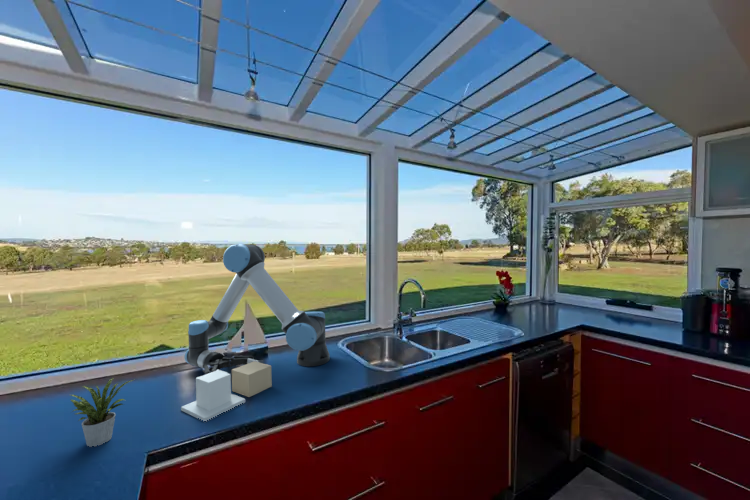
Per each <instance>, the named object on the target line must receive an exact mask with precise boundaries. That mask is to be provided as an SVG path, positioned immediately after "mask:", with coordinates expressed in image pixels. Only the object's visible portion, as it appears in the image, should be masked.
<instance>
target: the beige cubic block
mask: <svg viewBox="0 0 750 500" xmlns="http://www.w3.org/2000/svg"><path fill="white" fill-rule="evenodd" d="M272 377H273V376H272V365H270V364H267V363H264V362H260V361H259V362H256V361H254V362H251V363H248V364H244V365H241V366H240V365H239V366H238V367H235V368H232V369H231V392H233V393H237V394H239V395H242V396H244V397H248V398H250V397H251V398H252V396H255V395H257V394H259V393H261V392H263V391H265V390H268V389H269V388H272V387H273V385H272V384H273V381H272Z"/></svg>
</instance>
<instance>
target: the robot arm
mask: <svg viewBox="0 0 750 500" xmlns="http://www.w3.org/2000/svg"><path fill="white" fill-rule="evenodd" d="M265 259H266V257H265V252H264V250H263V249H262V248H261V247H260V246H259V245H256V244H248V243H247V244H244V243H236V244H231V245H230V246H229V247H227V248H226V250H225V251H224V253H223V257H222V263H223V266H224V268H225V269H227V271H229V272H232V273H235V275H234V277H233V278H232V280H231V283H230V284H229V286H228V287H227V290H226V291H225V293H224V295H223V296H222V298H221V300H220V302H219V304H218V305H217V307H216V308H215V310H214V312H213V314H212V315H211V318H210V319H209V320H207V319H199V320H198V319H197V320H194V321H191V322H190V323H189V324H188V331H187V333H188V335H187V336H188V349H187V350H186V351H185V353H184V361H185V363H187V364H189V366H190V365H191V366H193V367H197V368H200V369H202V372H203V373H204V375H206V374H208V373H211V372H214V371H217V370H219V371H222V372H225V373H228V374H229V372H228V371H224V370H221V369H225V368H231V367H233V366H240V365H241V366H243V365H246V364H248V363H251V362H254V361H256V362H260V360H257V359H254V356H253V355H235V354H233V355H231V357H226V356H225V355H224V354H223V353H221V352H219V351H213V350H210V349H209V345H210V344H209V343H210V341H209V339H212V338H214V337H216V336H218V335H221V334H223V333H224V332H225V331H227V330H228V327H229V320H230V319H231V317H232V315H233V313H234V312H235V310H236V308H237V306H239V303H240V302H241V299H242V298H243V296H244V294H245V293H246V292H247V289H248V287H249V286H251V287H252V289H253V291H255V292H256V294H257V295H258V296H259V297H260V299H261V300H262V301H263V302H264V303H265V305H266V306H267V307H268V308H269V309H270V311H271V312H272V314H273V315H274V316H276V317H275V318H277V319H278V320H279V322H280V323H281V330H282V332H283V334H285V341H286V343H287V345H288V346H289V348H291V349H293V350H295V351H298V353H297V356H296V363H297V365H299V366H302V367H317V366H321V365H324V364H327V363H328V362H329V361H330V359H331V358H330V352H329V349H328V347H327V342H326V313H325V312H323V311H304V310H299V309H298V308H297V307H296V306H295V304H294V303H293V301H291V299H290V298H289V297H288V296H287V294H286V293H285V292H284V291H283V290H282V288H281V287H280V285H279V284H277V282H276V281H275V280H274V279H273V277H272V276H271V275H270V274H269V273H268V271H267V270H266V269H265V265H266V264H265Z"/></svg>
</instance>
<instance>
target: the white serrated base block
mask: <svg viewBox="0 0 750 500" xmlns="http://www.w3.org/2000/svg"><path fill="white" fill-rule="evenodd" d="M222 371H223V370H221V371H219V370H217V371H214V372H212V371H210V372H211V373H208V374H206V375H205V374H203V375H200V376H197V377H196V378H195V400H194V401H192V402H189V403H187V404H185V405H182V406H181V407H180V410H181V412H184V413H186V414H188V415H190V416H192V417H194V418H196V419H198V418H199V419H198V420H200V419H201V420H200V421H202V420H203V422H204V421H206V422H208V421H210V420H212V419H214V418H216V417H218V416H217V415H219V414H221V413H223V412H225V413H227V412H229V411H231V410H233V409H235V408H236V407H235V406H237V407H238V405H239V406H241V405H243V404H245V403H246V398H244V397H241V396H240V395H239V396H238V395H236V394H233V393H232V373H229V372H228V373H225V372H226V371H224V372H222ZM242 403H243V404H242ZM240 404H241V405H240ZM234 407H235V408H234ZM232 408H233V409H232ZM230 409H231V410H230ZM228 410H229V411H228ZM226 411H227V412H226ZM223 414H224V413H223ZM221 415H222V414H221ZM215 416H216V417H215ZM219 416H220V415H219ZM213 417H214V418H213ZM211 418H212V419H211ZM209 419H210V420H209ZM207 420H208V421H207Z"/></svg>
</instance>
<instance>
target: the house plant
mask: <svg viewBox="0 0 750 500" xmlns="http://www.w3.org/2000/svg"><path fill="white" fill-rule="evenodd" d="M113 380H114V377H112V378H111V379H109V380H108V381H107V383H106V384H105V385H104V388H103V390H102V393H101V391H100V388H99V386H98V385H95V387H96V389H97V391H96V390H95V389H94V388H92V387H89V386H86V385H82V387H83V388H84V389H86V390H87V391H88V392H89V393H90V395H91V398H92V400H93V402H94V406H95V407H94V406H93V405H92V404H91V403H90V402H88V400H87V399H85V398H84V397H82V396H79V395H76V394H70V396H72V397H75V398H76V399H78V400H75V399H70V402H72V404H73V405H74V408H75V407H76V408H75V409H73V410H72V411H71V413H73V412H74V411H75V412H76V411H80V412H76V413H75V415H86V416H87V417H85V416H84V417H83V416H82V417H80V418H79V419H78V420H77V422H79V421H82V422H81V428H82V431H83V435H84V439H85V443H86V446H87V447H88V446H89V447H88V448H93V447H92V446H94V447H98V446H102V445H104V444H105V442H106V443H107V442H108V441H110V440H111V439H112V436H113V432H114V428H115V427H114V426H115V421H116V415H117V414H116V412H112V411H111V410H113V409H115V408H117V407H120V406H122V405H123V406H124V405H125V404H124V403H120V402H123V401H125V399H124V398H119V399H116V400H115V401H114V402H112V404H110V403H111V401H112V400H113V398H114V397H115V396H117V394H118V393H119V392H121V389H122V388H123V386H125V385H126V384H128V383H130V382H133V381H134V379H131V380H128V381H125V382H124V383H122V384H121V385H119V383H115V384H113V385H112V387H111V384H112V381H113ZM118 385H119V386H118ZM117 386H118V387H117ZM110 387H111V389H110ZM116 387H117V388H116ZM109 389H110V392H109ZM108 392H109V395H108ZM101 394H102V395H101ZM107 395H108V396H107ZM109 405H110V406H109ZM103 443H104V444H103ZM97 445H98V446H97Z"/></svg>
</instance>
